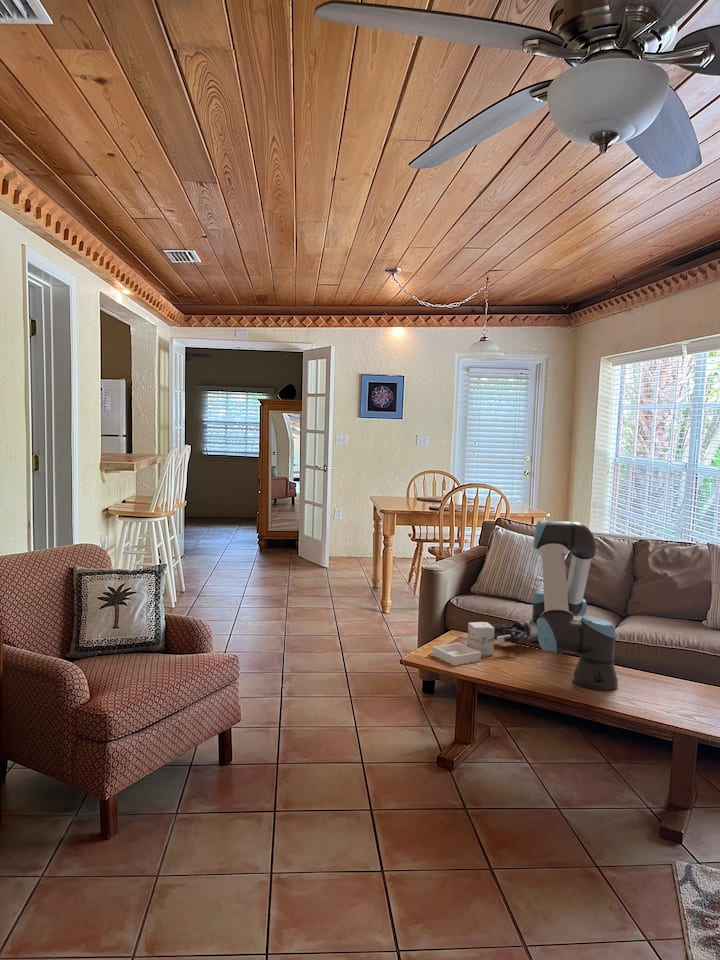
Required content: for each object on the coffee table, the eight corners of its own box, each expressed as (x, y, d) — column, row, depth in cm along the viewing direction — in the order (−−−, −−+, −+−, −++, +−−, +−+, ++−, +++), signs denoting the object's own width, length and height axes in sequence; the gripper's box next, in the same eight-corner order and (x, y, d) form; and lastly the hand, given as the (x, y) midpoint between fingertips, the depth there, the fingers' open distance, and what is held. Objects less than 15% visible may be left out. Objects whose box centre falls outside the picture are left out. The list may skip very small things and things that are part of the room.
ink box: (466, 649, 271) (467, 621, 270) (485, 649, 272) (487, 621, 272) (473, 656, 262) (475, 627, 262) (493, 655, 264) (495, 627, 263)
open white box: (480, 660, 257) (481, 652, 257) (453, 665, 250) (454, 656, 250) (458, 651, 268) (459, 642, 268) (432, 655, 261) (432, 646, 261)
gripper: (545, 646, 270) (507, 653, 259) (503, 631, 291) (466, 636, 280) (546, 628, 269) (507, 634, 259) (504, 614, 291) (467, 619, 280)
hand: (486, 635), depth 269 cm, fingers open, 13 cm apart
